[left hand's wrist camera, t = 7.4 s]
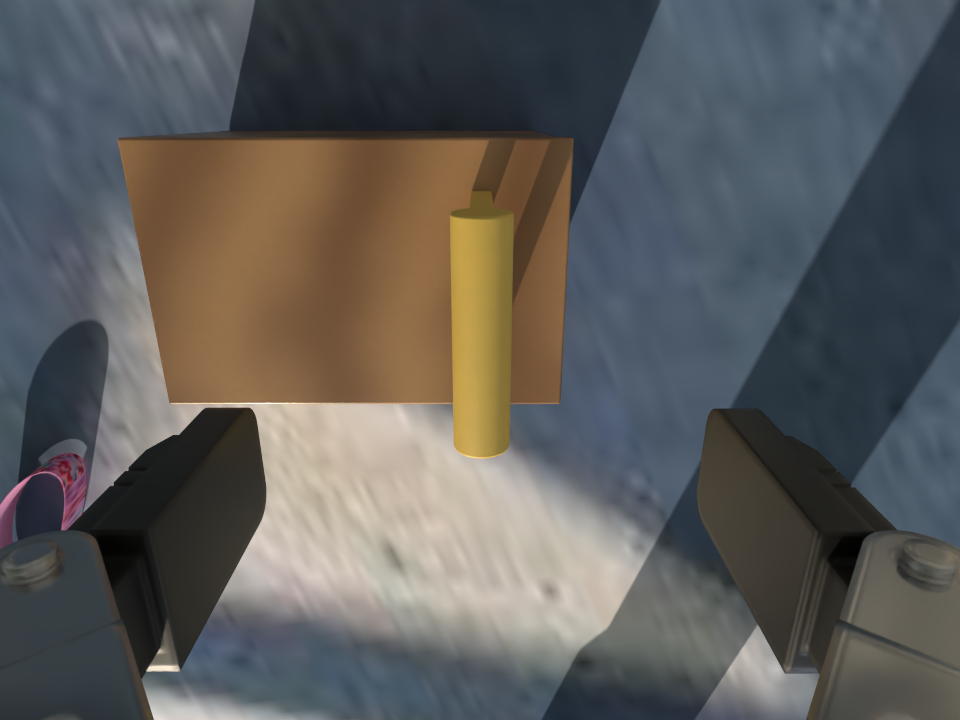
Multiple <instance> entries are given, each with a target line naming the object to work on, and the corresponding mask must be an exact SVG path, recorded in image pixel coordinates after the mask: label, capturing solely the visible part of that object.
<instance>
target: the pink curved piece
mask: <svg viewBox="0 0 960 720" xmlns="http://www.w3.org/2000/svg"><path fill="white" fill-rule="evenodd" d="M40 473H50V474H53V475H55V476H56V477H58V479H59V480H60V481H61V483H62V486H63V490H64V515H63V522H62V528H61V530H67V529H68V528H69V527H70V526H71V525H72V524H73V523H74V522H75V521H76V520H77V519H78V518H79V517H80V516H81V515H82V511H83V506H84V501H85V495H86V485H87V473H86V467H85V464H84V462H83V460H82V459H81V457H79V456H78V455H76V454H74V453H64V454H60V455H57V456H55V457H53V458H51V459H50V460H48V461H47V462H45V463H44V464H43V465H41V466H40V467H39V468H38V469H36V470H35V471H34V472H33V473H31V474H30V475H29V476H28V477H26V478H25V479H24V480H23V481H21V482H20V483H19V484H18V485H17V486H15V487H14V488H13V489H12V490H11V491H10V493H9V494H8V495H7V496H6V497H5V499H4V500H3V502H2V503H1V505H0V549H1V548H3V547H5V546H7V545H9V544H11V543H13V542H12V522H13V516H14V511H15V507H16V504H17V502H18V499H19V497H20V494H21V492H22V490H23V489H24V487H25V485H26V484H27V482H28V481H29V479H30V478H31V477H32V476H34V475H37V474H40Z"/></svg>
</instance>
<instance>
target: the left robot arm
mask: <svg viewBox="0 0 960 720" xmlns="http://www.w3.org/2000/svg"><path fill="white" fill-rule="evenodd" d="M697 503H698V510H699V514H700V517H701V520H702V522H703V524H704V526H705V528H706V530H707V532H708V534H709V535H710V537H711V539H712V541H713V543H714V545H715V546H716V548H717V550H718V552H719V554H720V556H721V557H722V559H723V561H724V563H725V565H726V567H727V568H728V570H729V572H730V574H731V576H732V577H733V579H734V581H735V583H736V585H737V587H738V588H739V590H740V592H741V594H742V596H743V598H744V599H745V601H746V603H747V605H748V607H749V609H750V610H751V612H752V614H753V616H754V618H755V620H756V621H757V623H758V625H759V627H760V629H761V631H762V632H763V634H764V636H765V638H766V640H767V641H768V643H769V645H770V647H771V649H772V651H773V652H774V654H775V656H776V658H777V660H778V662H779V663H780V665H781V667H782V669H783V671H784V673H819V674H820V677H819V680H818V683H817V687H816V690H815V693H814V696H813V699H812V703H811V706H810V709H809V712H808V716H807V719H806V720H960V549H959V548H957V547H955V546H953V545H951V544H949V543H946V542H944V541H942V540H939V539H936V538H933V537H930V536H927V535H923V534H919V533H914V532H909V531H901V530H897V529H896V528H895V527H894V526H893V525H892V524H891V523H890V522H889V521H888V520H887V519H886V518H885V517H884V516H883V515H882V514H881V513H880V512H879V511H878V510H877V509H876V508H875V507H874V506H873V505H872V504H871V503H870V502H869V501H868V500H867V499H866V498H865V497H864V496H863V495H862V494H861V493H860V492H859V491H858V490H857V489H856V488H851V484H850V483H849V482H848V481H847V480H846V479H845V478H844V477H843V476H842V475H841V474H840V473H839V472H836V469H835V468H834V467H833V466H832V465H831V464H830V463H829V462H828V461H827V460H826V459H825V458H824V457H823V456H822V455H821V454H820V453H819V452H818V451H817V450H815V449H813V448H811V447H809V446H808V445H806V444H804V443H802V442H800V441H799V440H797V439H795V438H793V437H791V436H785V435H784V434H783V433H782V432H781V431H780V430H779V429H778V428H777V427H776V426H775V425H774V424H773V423H772V422H771V421H770V420H769V419H768V418H767V417H766V416H765V414H764V413H763V412H762V411H760V410H759V409H713V410H712V411H711V412H710V414H709V416H708V419H707V423H706V430H705V437H704V443H703V450H702V457H701V464H700V471H699V478H698V485H697ZM265 504H266V482H265V475H264V468H263V461H262V454H261V447H260V440H259V433H258V426H257V420H256V416H255V414H254V412H253V410H252V409H251V408H205V409H203V410H202V411H201V412H200V413H199V414H198V415H197V417H196V418H195V419H194V420H193V421H192V422H191V423H190V424H189V425H188V426H187V427H186V428H185V429H184V430H183V431H182V432H181V434H180V435H173V436H171V437H169V438H167V439H165V440H164V441H162V442H160V443H158V444H156V445H154V446H153V447H151V448H149V449H147V450H146V451H145V452H144V453H143V454H142V455H141V456H140V457H139V458H138V459H137V460H136V461H135V462H134V463H133V464H132V465H131V466H130V467H129V471H125V472H124V473H123V474H122V475H121V476H120V477H119V478H118V479H117V480H116V481H115V482H114V486H110V487H109V488H108V489H107V490H106V491H105V492H104V493H103V494H102V495H101V496H100V497H99V498H98V499H97V500H96V501H95V502H94V503H93V504H92V505H91V506H90V507H89V508H88V509H87V510H86V511H85V512H84V513H83V514H82V515H81V516H80V517H79V518H78V519H77V520H76V521H75V522H74V523H73V524H72V525H71V526H70V527H69V528H68V529H67V530H59V531H51V532H46V533H41V534H37V535H33V536H30V537H27V538H24V539H21V540H18V541H16V542H14V543H11V544H9V545H7V546H5V547H3V548H1V549H0V720H154V719H153V716H152V712H151V709H150V706H149V703H148V699H147V696H146V693H145V690H144V687H143V683H142V680H141V679H142V677H143V676H144V674H145V672H146V671H180V670H181V668H182V666H183V665H184V663H185V661H186V659H187V657H188V655H189V654H190V652H191V650H192V648H193V646H194V644H195V642H196V641H197V639H198V637H199V635H200V633H201V631H202V629H203V628H204V626H205V624H206V622H207V620H208V618H209V616H210V615H211V613H212V611H213V609H214V607H215V605H216V604H217V602H218V600H219V598H220V596H221V594H222V592H223V591H224V589H225V587H226V585H227V583H228V581H229V579H230V578H231V576H232V574H233V572H234V570H235V568H236V567H237V565H238V563H239V561H240V559H241V557H242V555H243V554H244V552H245V550H246V548H247V546H248V544H249V542H250V541H251V539H252V537H253V535H254V533H255V531H256V529H257V528H258V526H259V524H260V522H261V520H262V517H263V514H264V510H265Z"/></svg>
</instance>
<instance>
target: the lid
mask: <svg viewBox="0 0 960 720" xmlns="http://www.w3.org/2000/svg"><path fill="white" fill-rule="evenodd" d="M118 144H119V149H120V154H121V159H122V164H123V169H124V174H125V179H126V184H127V189H128V194H129V199H130V204H131V210H132V215H133V220H134V225H135V230H136V235H137V240H138V245H139V250H140V255H141V260H142V265H143V270H144V275H145V280H146V286H147V291H148V296H149V301H150V306H151V311H152V316H153V321H154V326H155V331H156V336H157V341H158V346H159V351H160V356H161V362H162V367H163V372H164V377H165V382H166V387H167V392H168V397H169V402H170V404H453V425H454V446H455V448H456V450H457V451H458V452H459V453H461V454H463V455H465V456H468V457H472V458H491V457H495V456H498V455H501V454H502V453H504V452H505V451H506V450H507V449H508V447H509V442H510V404H559V403H560V399H561V380H562V360H563V341H564V321H565V301H566V282H567V262H568V243H569V223H570V204H571V184H572V164H573V145H574V140H573V138H570V137H124V138H119V139H118Z"/></svg>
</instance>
